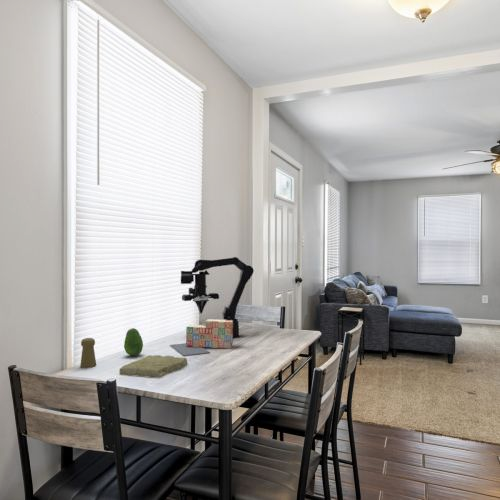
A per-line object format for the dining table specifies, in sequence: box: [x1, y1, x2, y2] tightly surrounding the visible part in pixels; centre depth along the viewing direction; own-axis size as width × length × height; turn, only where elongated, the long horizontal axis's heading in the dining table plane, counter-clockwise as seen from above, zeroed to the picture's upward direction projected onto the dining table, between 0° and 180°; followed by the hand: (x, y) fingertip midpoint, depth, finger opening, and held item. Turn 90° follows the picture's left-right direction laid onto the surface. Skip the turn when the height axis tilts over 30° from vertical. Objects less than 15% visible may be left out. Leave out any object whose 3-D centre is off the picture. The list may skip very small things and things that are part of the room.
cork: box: [79, 337, 97, 369], centre depth 164 cm, size 6×6×11 cm
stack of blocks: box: [185, 318, 233, 349], centre depth 194 cm, size 21×6×12 cm, turn 84°
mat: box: [169, 342, 211, 357], centre depth 190 cm, size 12×23×1 cm, turn 25°
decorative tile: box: [119, 354, 188, 378], centre depth 158 cm, size 19×20×4 cm
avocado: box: [123, 328, 144, 357], centre depth 179 cm, size 8×8×12 cm
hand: (200, 313), depth 215 cm, fingers closed
